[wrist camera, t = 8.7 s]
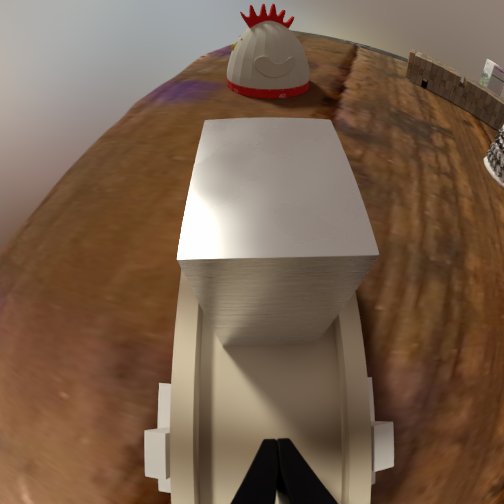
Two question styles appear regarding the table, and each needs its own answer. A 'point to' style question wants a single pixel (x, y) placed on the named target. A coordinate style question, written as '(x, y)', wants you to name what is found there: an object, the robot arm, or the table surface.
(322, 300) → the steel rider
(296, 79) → the kitchen timer
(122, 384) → the table surface
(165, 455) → the beam stand
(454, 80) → the block tower
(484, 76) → the syrup box
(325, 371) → the balance beam
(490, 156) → the white patterned cylinder
